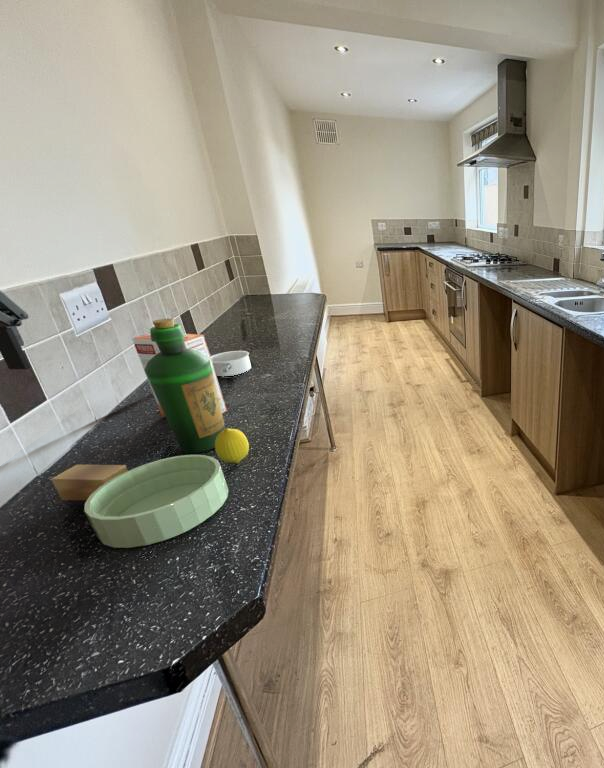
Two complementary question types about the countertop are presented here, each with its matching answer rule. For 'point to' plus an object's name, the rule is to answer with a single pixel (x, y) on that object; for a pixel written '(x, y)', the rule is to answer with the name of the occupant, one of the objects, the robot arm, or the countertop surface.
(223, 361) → the saucepan
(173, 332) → the bottle
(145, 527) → the bowl
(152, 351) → the cracker box
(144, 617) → the countertop surface
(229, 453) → the lemon
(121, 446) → the countertop surface
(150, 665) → the countertop surface
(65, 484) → the wooden block
